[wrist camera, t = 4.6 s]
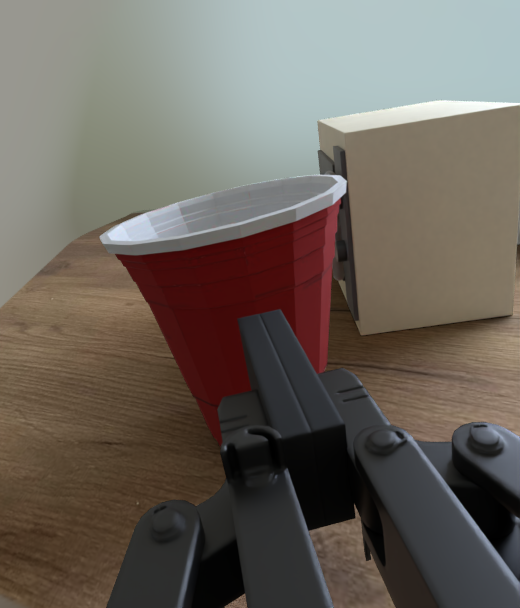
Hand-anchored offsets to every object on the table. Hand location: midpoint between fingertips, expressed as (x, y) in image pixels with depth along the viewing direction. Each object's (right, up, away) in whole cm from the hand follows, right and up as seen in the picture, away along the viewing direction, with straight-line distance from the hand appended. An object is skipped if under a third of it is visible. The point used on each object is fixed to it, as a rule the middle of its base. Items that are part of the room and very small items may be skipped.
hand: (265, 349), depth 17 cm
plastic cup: (0, -5, +9) cm, 10 cm away
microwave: (+12, +3, +22) cm, 25 cm away
